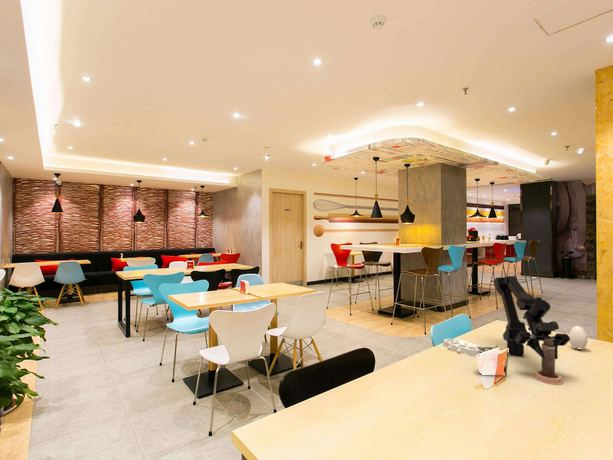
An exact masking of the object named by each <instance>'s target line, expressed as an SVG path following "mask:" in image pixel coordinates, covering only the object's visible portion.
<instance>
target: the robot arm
mask: <svg viewBox="0 0 613 460" xmlns="http://www.w3.org/2000/svg"><path fill="white" fill-rule="evenodd" d="M493 286H494V288H495V290H496V291H497V292H498V294H499V295H500V296H501V300H502V304H503V307H504V308H503V309H504V311H505V316H506V319H507V324H506V325H505V330H504V332H503V334H502V338H503V340H504V341H505V342H506V349H507V348H509V354H510V356H517V357H524V354H525V346H524V345H526V346H527V347H529V348H531V349H532V350H533V351H534V352H535V353H536V354H537V355H538V356H540V358H541V359H542V358H543V359H544V358H545V357H544V353H543V351H542V346H541V345H540V342H541V341H543V340H544V339H545V338H550V339H552V340H553V342H554V344H553V345H554V346H555V360H557V359H558V357H559V355H558V347H559V346H561V347H563V346H566V344H568V343H570V338H569V334H567V333H560V332H559V333H557V332H556V331H557V330H559V329H560V328H559V323H558V322H557V321H555V320H552V321H549V322H544V321H543V319H542V318H544V317H545V316H546V314H547V313H548V312H549V311H550V309H551V305H550V303H548V301H547V300H544V299H543V298H542V297H539V296H538V297H537V296H536V297H534V296H533V295H532V294H530V293H527V292H526V289H524V287H523V286H522V285H521V283H520V282H519V281H518V278H517V276H514V275H513V276H512V275H506V276H502V277H499V276H498V277H496V278H494V279H493ZM513 295H514V296H513ZM514 297H515V298H516V302H515V301H514ZM516 306H517V308H518V309H519V310H520V311H525V312H524V314H523V316H522V318H523V319H524V320H526V323H527V326H528V328H526V323H525V322H523V321H522V322H521V321H520V319H519V315H518V312H517V308H516ZM527 330H528V331H527ZM530 332H531V333H530ZM552 332H556V334H555V335H553V336H551V334H552Z"/></svg>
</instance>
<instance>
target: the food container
mask: <svg viewBox="0 0 613 460" xmlns="http://www.w3.org/2000/svg"><path fill="white" fill-rule="evenodd" d="M493 348H495V347H492V346H481V348H480V349H479V351H478V354H479V353H482V352H485V351H488V350H491V349H493ZM499 349H500V350H504V348H503V349H502V348H499ZM509 358H511V355H510V354H509V352H507V358H506V364H505V366H504V372H505V376H504V377H507V374H508V373H507V372H508V363H509Z"/></svg>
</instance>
